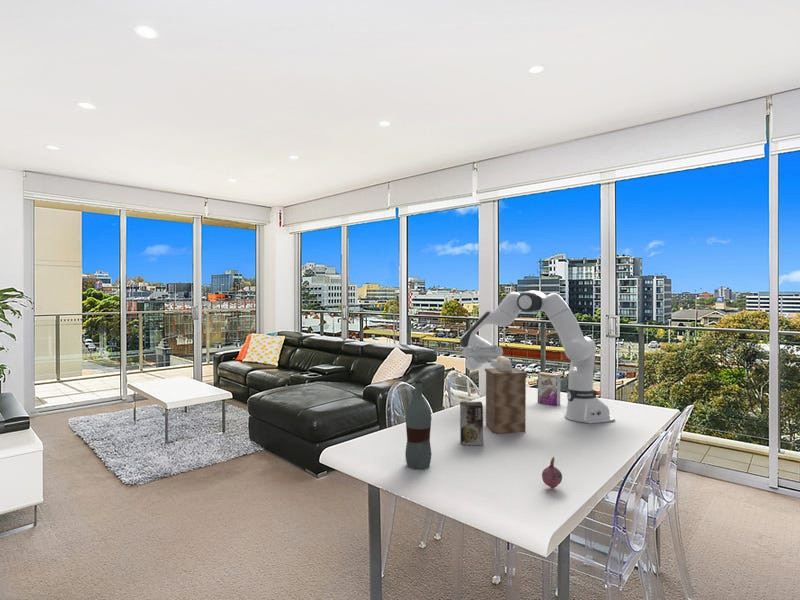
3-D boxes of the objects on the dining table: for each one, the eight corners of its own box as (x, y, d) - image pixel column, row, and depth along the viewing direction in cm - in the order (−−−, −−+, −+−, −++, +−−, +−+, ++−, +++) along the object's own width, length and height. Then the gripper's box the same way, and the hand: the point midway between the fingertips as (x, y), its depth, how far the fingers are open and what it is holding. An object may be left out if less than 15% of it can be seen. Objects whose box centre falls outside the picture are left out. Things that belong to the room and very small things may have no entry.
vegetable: (551, 494, 141) (551, 461, 140) (537, 486, 146) (537, 454, 146) (566, 490, 143) (566, 458, 143) (552, 483, 149) (552, 452, 149)
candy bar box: (537, 402, 258) (537, 373, 258) (541, 401, 262) (541, 371, 262) (556, 405, 251) (557, 375, 250) (560, 404, 254) (560, 374, 254)
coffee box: (482, 440, 192) (482, 401, 191) (483, 445, 185) (483, 405, 185) (459, 440, 193) (459, 400, 192) (460, 445, 186) (460, 404, 186)
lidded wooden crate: (516, 424, 215) (516, 368, 215) (527, 432, 202) (527, 372, 202) (484, 425, 214) (484, 368, 213) (493, 433, 201) (493, 373, 200)
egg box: (499, 365, 222) (499, 353, 222) (512, 371, 205) (512, 358, 205) (490, 365, 222) (490, 353, 222) (502, 371, 204) (502, 358, 204)
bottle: (435, 468, 161) (435, 381, 161) (410, 471, 158) (410, 383, 158) (426, 459, 170) (426, 377, 170) (402, 462, 167) (402, 378, 167)
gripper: (459, 350, 246) (466, 340, 234) (496, 350, 249) (505, 340, 237) (460, 361, 244) (467, 352, 231) (498, 361, 247) (507, 352, 234)
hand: (487, 346), depth 234 cm, fingers open, 8 cm apart
